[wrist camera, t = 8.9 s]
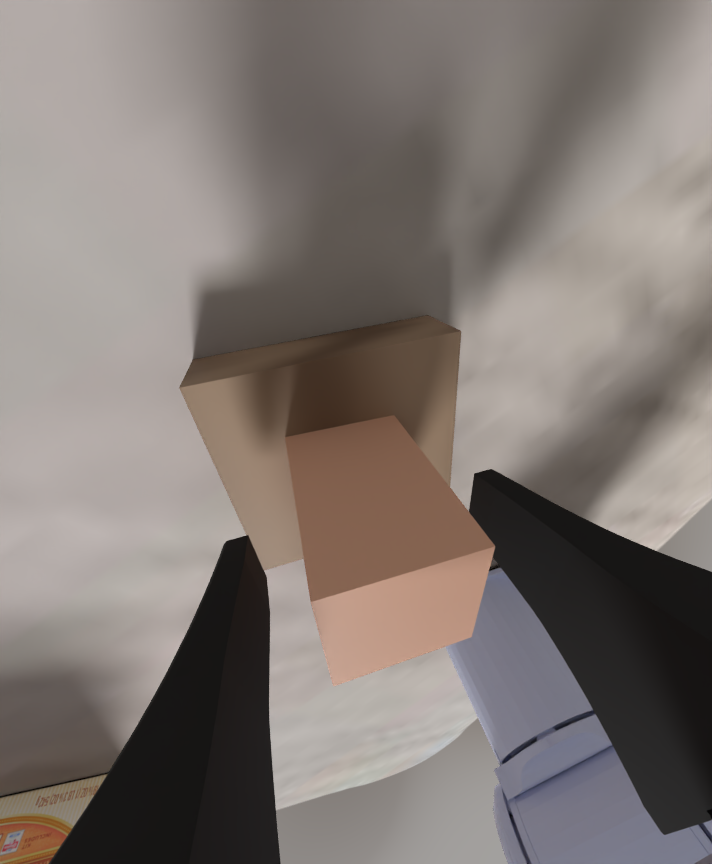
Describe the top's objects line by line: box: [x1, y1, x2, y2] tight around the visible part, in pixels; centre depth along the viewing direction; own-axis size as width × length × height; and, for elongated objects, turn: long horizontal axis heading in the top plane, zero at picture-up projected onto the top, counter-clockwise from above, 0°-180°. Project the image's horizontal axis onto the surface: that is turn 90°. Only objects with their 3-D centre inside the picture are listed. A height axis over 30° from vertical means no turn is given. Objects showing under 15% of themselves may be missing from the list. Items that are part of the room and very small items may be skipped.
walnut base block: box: [179, 315, 461, 570], centre depth 14 cm, size 9×9×3 cm
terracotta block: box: [285, 415, 495, 686], centre depth 10 cm, size 4×4×6 cm
